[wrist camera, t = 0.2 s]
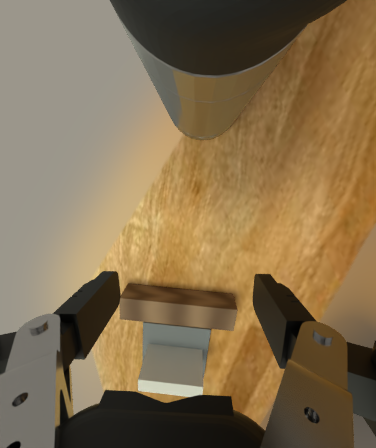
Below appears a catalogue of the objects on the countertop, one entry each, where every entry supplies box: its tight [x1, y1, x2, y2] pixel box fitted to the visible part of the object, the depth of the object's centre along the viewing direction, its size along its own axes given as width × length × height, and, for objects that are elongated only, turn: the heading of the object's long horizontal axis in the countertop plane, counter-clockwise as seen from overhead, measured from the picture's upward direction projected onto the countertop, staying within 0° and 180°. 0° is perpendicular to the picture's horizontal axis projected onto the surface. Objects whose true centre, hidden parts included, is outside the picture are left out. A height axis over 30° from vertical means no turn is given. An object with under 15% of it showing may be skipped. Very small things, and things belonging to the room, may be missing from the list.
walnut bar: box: [119, 284, 237, 331], centre depth 30 cm, size 18×4×4 cm, turn 85°
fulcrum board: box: [138, 322, 211, 397], centre depth 31 cm, size 12×12×7 cm
